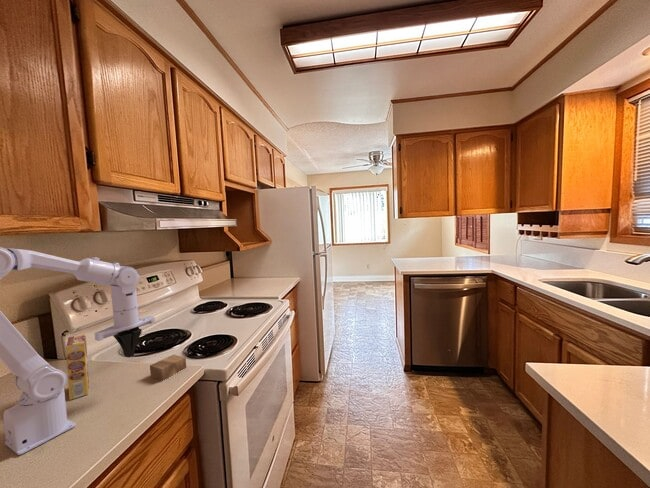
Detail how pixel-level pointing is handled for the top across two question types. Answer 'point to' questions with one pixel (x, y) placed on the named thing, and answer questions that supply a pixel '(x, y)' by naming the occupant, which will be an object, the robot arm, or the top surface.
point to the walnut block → (167, 367)
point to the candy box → (77, 366)
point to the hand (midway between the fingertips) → (129, 355)
